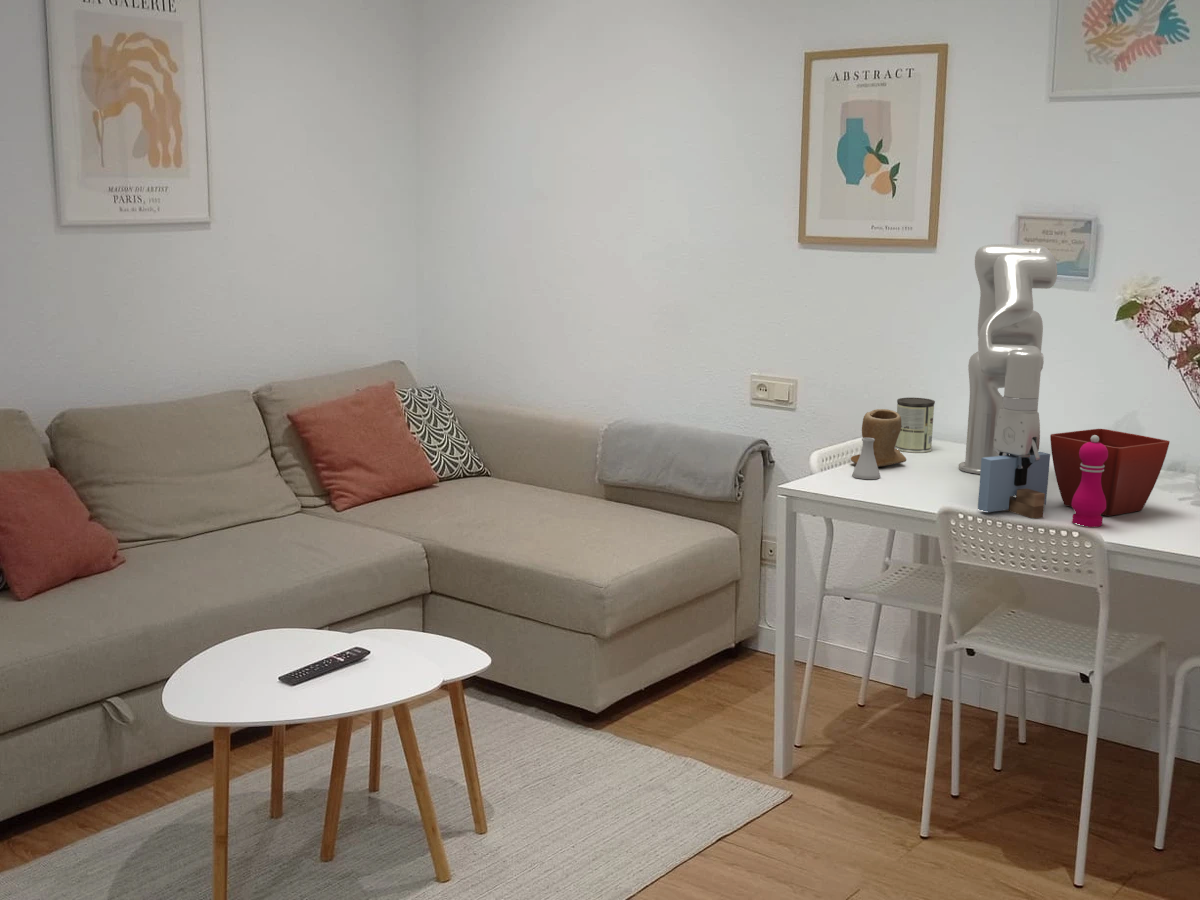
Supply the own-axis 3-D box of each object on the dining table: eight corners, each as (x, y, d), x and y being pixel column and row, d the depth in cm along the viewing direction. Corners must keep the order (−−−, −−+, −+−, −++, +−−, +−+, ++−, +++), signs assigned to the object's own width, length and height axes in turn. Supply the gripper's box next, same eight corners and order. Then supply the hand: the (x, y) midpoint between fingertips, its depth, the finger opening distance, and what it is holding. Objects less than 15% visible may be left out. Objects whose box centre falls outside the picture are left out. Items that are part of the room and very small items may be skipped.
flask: (880, 481, 330) (882, 442, 328) (851, 479, 331) (853, 440, 329) (880, 475, 337) (882, 436, 335) (852, 473, 338) (854, 435, 336)
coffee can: (892, 445, 376) (895, 396, 374) (928, 446, 375) (931, 397, 373) (896, 452, 366) (899, 402, 363) (934, 453, 365) (937, 403, 363)
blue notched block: (986, 512, 296) (990, 460, 294) (977, 509, 299) (981, 457, 297) (1045, 504, 304) (1050, 454, 302) (1036, 501, 307) (1040, 451, 305)
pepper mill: (1064, 519, 294) (1072, 432, 290) (1095, 519, 294) (1103, 432, 290) (1078, 528, 287) (1086, 438, 283) (1110, 527, 287) (1118, 438, 283)
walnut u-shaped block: (982, 503, 308) (984, 480, 307) (992, 501, 309) (994, 479, 308) (1033, 518, 294) (1035, 494, 293) (1042, 517, 295) (1044, 493, 294)
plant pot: (1094, 495, 318) (1100, 427, 315) (1164, 512, 302) (1172, 440, 299) (1042, 504, 308) (1047, 434, 304) (1111, 522, 292) (1119, 448, 289)
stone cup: (873, 472, 340) (877, 415, 337) (844, 463, 350) (847, 408, 347) (918, 467, 347) (921, 411, 344) (888, 459, 357) (891, 404, 354)
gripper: (982, 399, 302) (976, 477, 306) (1035, 411, 288) (1028, 492, 292) (1007, 398, 306) (1000, 474, 309) (1060, 409, 291) (1053, 489, 295)
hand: (1014, 482), depth 301 cm, fingers closed on blue notched block, 3 cm apart
